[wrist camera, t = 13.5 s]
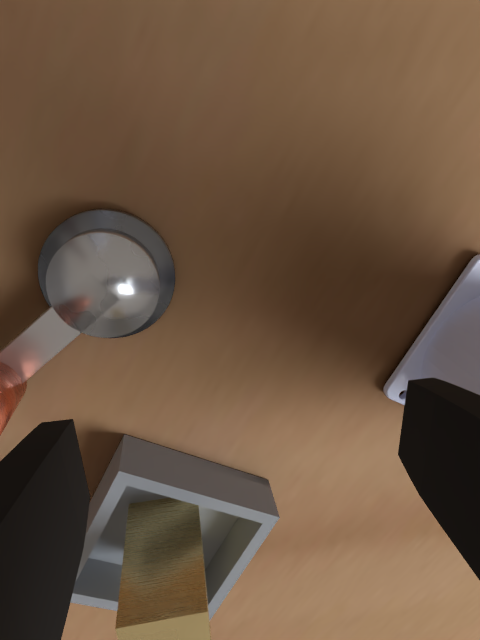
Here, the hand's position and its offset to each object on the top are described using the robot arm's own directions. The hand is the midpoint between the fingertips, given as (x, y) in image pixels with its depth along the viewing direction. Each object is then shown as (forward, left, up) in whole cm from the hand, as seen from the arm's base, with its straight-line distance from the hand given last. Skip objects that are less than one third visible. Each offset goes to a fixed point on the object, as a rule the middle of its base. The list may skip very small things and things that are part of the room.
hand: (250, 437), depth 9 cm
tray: (-4, +12, -10) cm, 16 cm away
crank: (+5, +3, -9) cm, 11 cm away
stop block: (-4, +12, -9) cm, 16 cm away
